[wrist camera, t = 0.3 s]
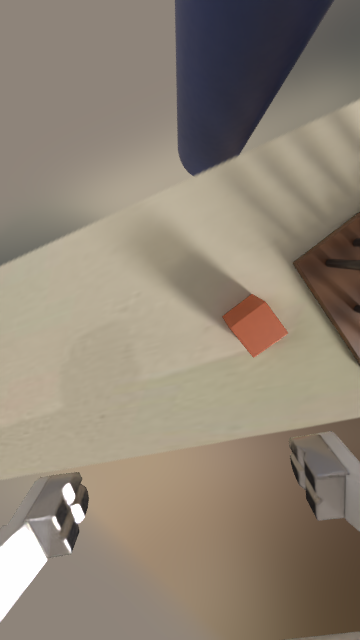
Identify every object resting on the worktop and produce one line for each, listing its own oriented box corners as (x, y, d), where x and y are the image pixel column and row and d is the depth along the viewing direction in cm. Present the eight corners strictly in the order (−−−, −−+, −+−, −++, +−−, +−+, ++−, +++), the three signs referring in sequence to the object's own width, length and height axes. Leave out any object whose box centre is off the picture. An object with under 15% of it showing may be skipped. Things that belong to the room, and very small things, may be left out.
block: (221, 316, 25) (229, 328, 21) (251, 293, 25) (265, 301, 21) (242, 342, 26) (253, 358, 22) (272, 321, 25) (288, 333, 22)
